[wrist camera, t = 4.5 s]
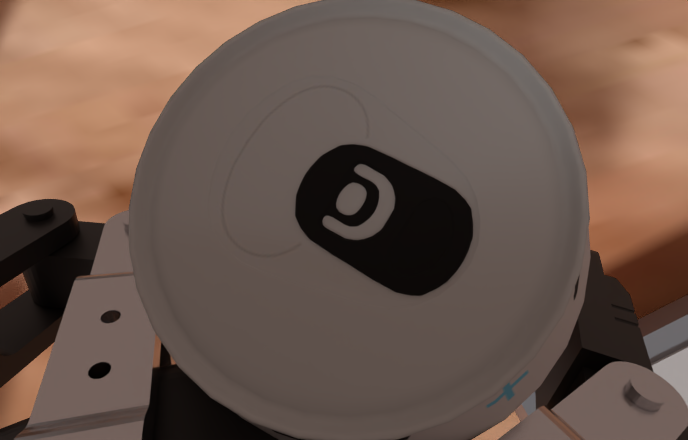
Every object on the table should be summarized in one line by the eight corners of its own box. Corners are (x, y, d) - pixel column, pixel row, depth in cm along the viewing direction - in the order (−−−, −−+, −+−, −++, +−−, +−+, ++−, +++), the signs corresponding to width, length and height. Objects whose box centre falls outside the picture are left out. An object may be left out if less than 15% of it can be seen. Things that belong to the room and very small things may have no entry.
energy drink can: (374, 206, 20) (267, -108, 6) (495, 273, 18) (771, 71, 4) (304, 321, 19) (-23, 289, 5) (425, 401, 18) (462, 696, 3)
